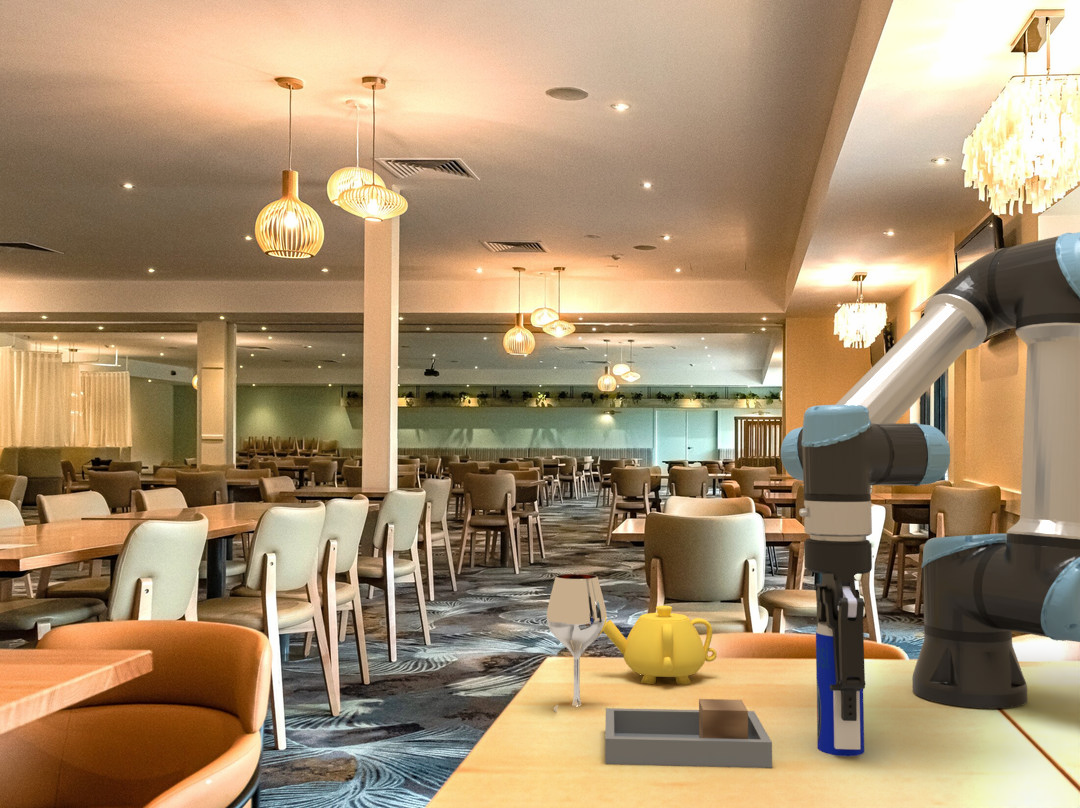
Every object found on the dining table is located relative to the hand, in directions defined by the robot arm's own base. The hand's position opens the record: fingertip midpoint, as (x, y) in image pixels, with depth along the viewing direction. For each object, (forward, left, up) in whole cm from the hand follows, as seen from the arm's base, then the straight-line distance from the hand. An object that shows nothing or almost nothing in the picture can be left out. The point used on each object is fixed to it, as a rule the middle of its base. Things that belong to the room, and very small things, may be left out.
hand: (840, 739), depth 112 cm
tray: (+18, +1, -2) cm, 18 cm away
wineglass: (+31, -18, -2) cm, 36 cm away
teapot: (+19, -39, -2) cm, 43 cm away
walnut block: (+14, +1, -1) cm, 14 cm away
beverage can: (0, 0, -2) cm, 2 cm away
